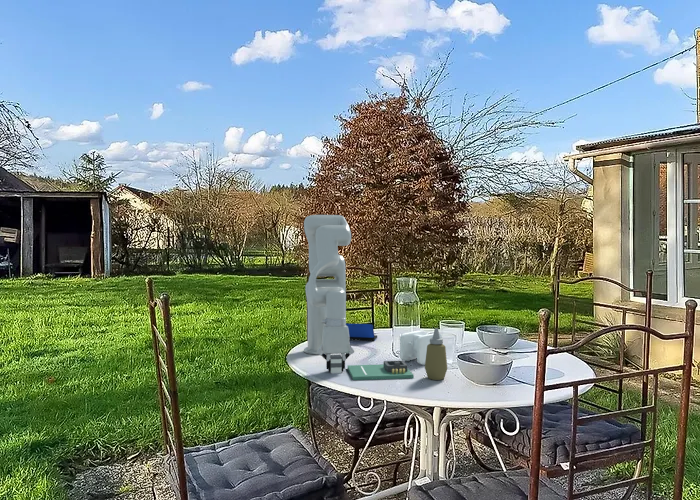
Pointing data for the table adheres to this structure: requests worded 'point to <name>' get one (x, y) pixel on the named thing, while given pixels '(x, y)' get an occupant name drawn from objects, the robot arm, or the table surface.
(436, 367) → the squeeze bottle
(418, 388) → the table surface
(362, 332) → the laptop
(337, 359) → the plug
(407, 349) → the cable organizer
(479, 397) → the table surface
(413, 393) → the table surface
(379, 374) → the board
